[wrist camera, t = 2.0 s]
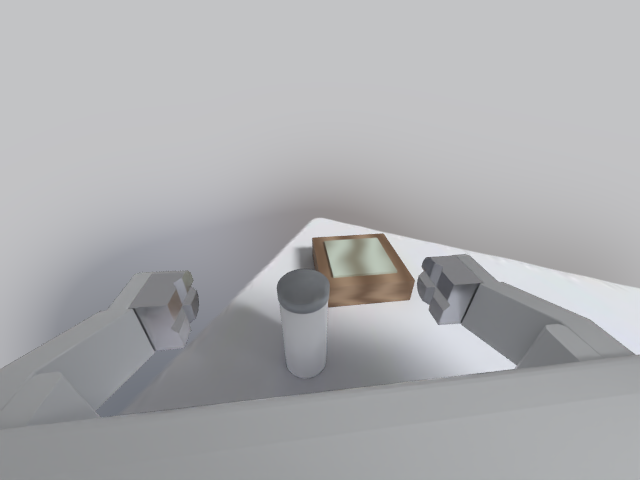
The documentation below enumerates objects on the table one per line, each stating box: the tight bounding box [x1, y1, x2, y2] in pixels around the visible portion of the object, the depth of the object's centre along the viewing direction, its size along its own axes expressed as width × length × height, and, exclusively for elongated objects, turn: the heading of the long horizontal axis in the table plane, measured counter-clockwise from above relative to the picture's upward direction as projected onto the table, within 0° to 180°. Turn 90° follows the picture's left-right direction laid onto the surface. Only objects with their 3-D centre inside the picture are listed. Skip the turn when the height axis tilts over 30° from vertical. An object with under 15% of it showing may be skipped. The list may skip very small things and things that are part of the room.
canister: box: [277, 269, 330, 378], centre depth 28 cm, size 5×5×12 cm
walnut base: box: [312, 234, 415, 307], centre depth 44 cm, size 14×14×4 cm
